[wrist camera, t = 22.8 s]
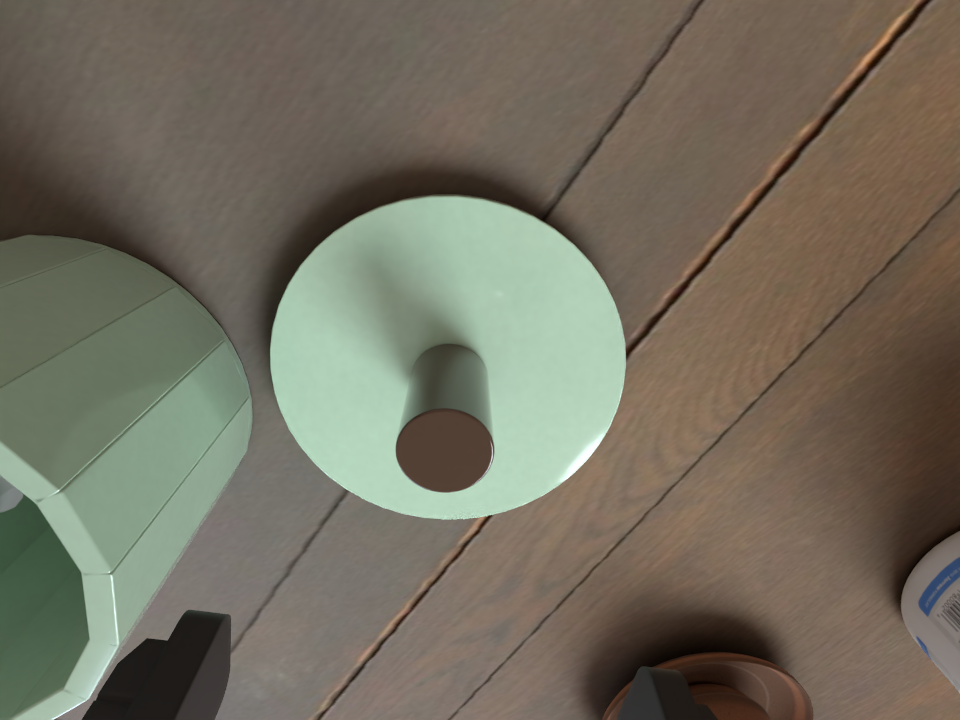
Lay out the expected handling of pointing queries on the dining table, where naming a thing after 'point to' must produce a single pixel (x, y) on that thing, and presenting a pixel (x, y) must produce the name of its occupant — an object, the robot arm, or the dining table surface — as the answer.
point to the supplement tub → (936, 606)
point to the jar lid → (447, 357)
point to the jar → (100, 456)
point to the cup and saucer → (735, 688)
